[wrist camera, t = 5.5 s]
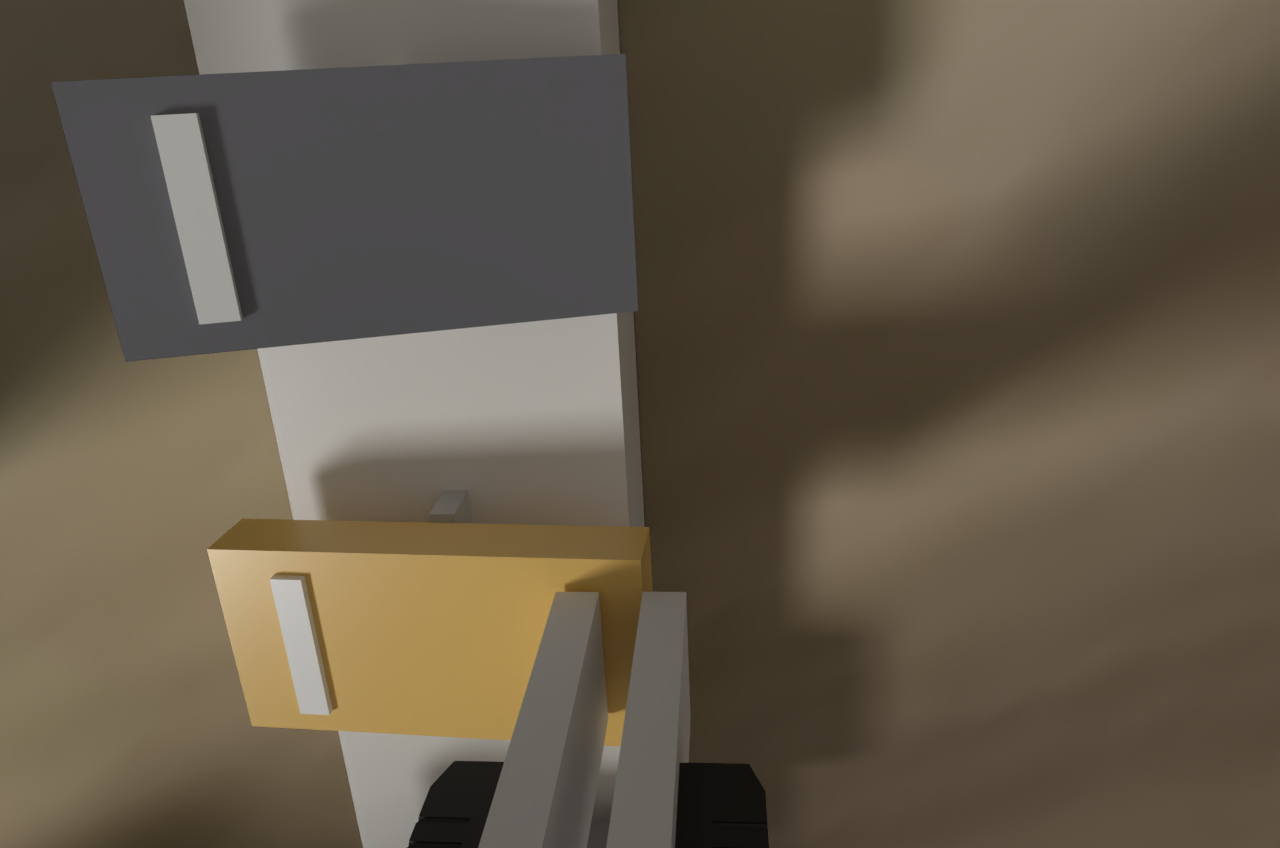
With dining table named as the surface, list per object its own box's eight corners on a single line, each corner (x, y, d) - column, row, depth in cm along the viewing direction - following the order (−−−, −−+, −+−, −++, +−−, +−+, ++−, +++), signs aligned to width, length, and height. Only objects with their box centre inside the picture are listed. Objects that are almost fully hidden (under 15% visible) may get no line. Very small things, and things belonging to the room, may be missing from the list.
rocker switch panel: (466, 1051, 31) (425, 1229, 26) (267, -84, 18) (119, -135, 14) (672, 1056, 30) (667, 1238, 26) (611, -107, 18) (581, -168, 13)
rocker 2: (282, 687, 19) (247, 731, 18) (242, 518, 18) (202, 553, 16) (658, 706, 18) (650, 754, 17) (649, 527, 16) (639, 565, 15)
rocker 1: (149, 340, 15) (122, 364, 14) (82, 81, 13) (45, 81, 12) (624, 295, 16) (640, 313, 15) (611, 55, 15) (627, 53, 14)
